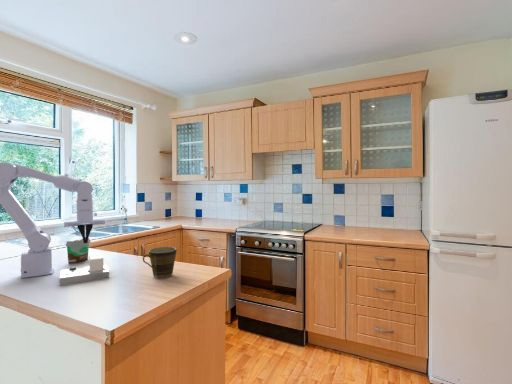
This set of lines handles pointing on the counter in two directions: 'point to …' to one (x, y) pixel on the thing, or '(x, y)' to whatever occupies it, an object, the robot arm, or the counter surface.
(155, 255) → the ceramic cup
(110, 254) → the counter surface
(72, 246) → the food container
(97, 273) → the socket
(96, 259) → the plug
